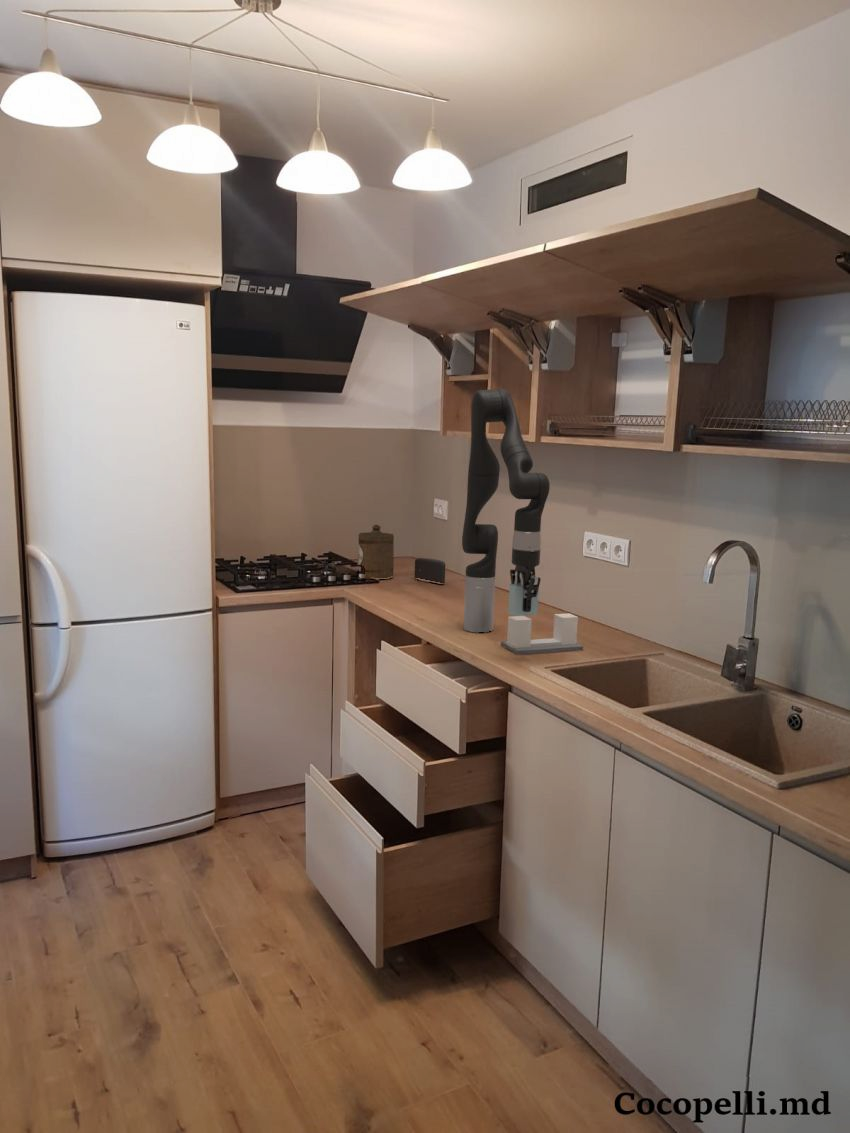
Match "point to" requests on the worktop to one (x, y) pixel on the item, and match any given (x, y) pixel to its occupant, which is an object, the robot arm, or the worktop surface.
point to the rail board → (560, 642)
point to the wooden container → (376, 553)
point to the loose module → (520, 601)
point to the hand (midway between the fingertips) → (523, 609)
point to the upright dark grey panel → (430, 569)
